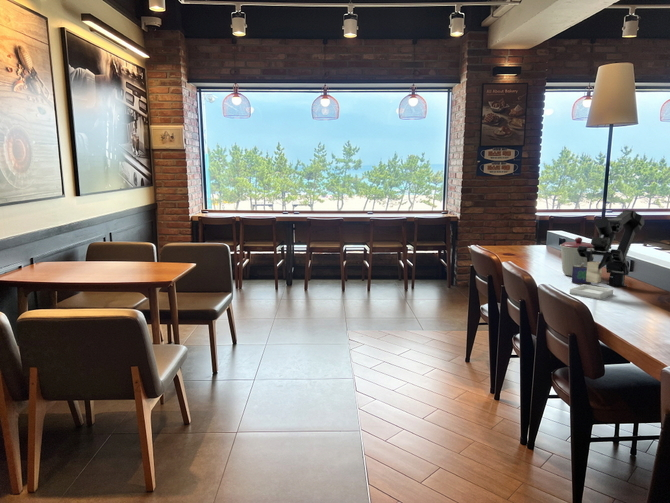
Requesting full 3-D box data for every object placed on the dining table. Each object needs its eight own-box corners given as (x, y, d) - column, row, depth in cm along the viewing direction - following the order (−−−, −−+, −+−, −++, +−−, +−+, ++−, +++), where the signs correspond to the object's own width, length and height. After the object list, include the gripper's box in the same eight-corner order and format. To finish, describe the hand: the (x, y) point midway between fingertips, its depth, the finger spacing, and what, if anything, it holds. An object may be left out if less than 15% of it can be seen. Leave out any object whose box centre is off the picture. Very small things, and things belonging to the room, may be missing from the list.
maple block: (590, 279, 221) (591, 260, 220) (600, 281, 217) (602, 262, 216) (586, 281, 218) (587, 262, 217) (596, 283, 215) (597, 263, 213)
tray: (583, 289, 229) (583, 284, 228) (612, 294, 218) (613, 289, 218) (569, 293, 221) (570, 288, 220) (599, 299, 210) (599, 294, 210)
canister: (595, 273, 263) (598, 236, 259) (594, 280, 247) (597, 240, 244) (559, 270, 272) (562, 234, 268) (556, 276, 257) (558, 238, 253)
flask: (590, 282, 242) (591, 262, 240) (592, 284, 239) (593, 263, 237) (570, 282, 244) (572, 262, 242) (572, 283, 241) (573, 263, 239)
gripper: (580, 228, 224) (567, 254, 219) (623, 232, 209) (610, 260, 204) (586, 243, 230) (574, 268, 225) (628, 247, 215) (616, 274, 210)
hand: (593, 267), depth 216 cm, fingers closed on maple block, 5 cm apart
